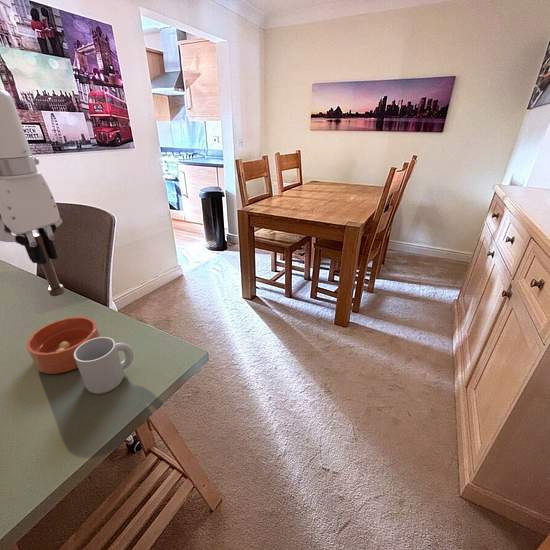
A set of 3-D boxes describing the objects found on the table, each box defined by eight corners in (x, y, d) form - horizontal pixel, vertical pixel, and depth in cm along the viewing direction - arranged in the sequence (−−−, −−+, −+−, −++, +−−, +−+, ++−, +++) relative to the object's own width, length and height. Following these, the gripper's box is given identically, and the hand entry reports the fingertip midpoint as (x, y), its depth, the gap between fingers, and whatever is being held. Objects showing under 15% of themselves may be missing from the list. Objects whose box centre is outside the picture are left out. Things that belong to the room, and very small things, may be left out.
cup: (82, 379, 64) (70, 346, 60) (131, 358, 70) (123, 327, 66) (90, 401, 59) (77, 367, 55) (142, 376, 65) (134, 344, 61)
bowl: (25, 380, 63) (14, 359, 61) (49, 340, 75) (41, 320, 72) (94, 369, 66) (87, 349, 64) (107, 332, 78) (102, 313, 75)
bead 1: (59, 353, 70) (55, 346, 69) (62, 347, 72) (59, 340, 71) (69, 352, 70) (66, 344, 69) (72, 345, 72) (69, 338, 71)
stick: (47, 297, 65) (24, 238, 58) (52, 290, 67) (30, 233, 61) (62, 295, 65) (40, 236, 59) (66, 289, 68) (46, 232, 61)
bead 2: (55, 360, 68) (51, 353, 67) (58, 354, 70) (55, 346, 69) (66, 359, 68) (63, 351, 67) (69, 352, 70) (66, 345, 69)
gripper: (35, 161, 61) (63, 244, 70) (-59, 173, 48) (-9, 275, 57) (65, 162, 60) (90, 248, 68) (-24, 176, 46) (22, 280, 55)
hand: (45, 259), depth 62 cm, fingers closed on stick
